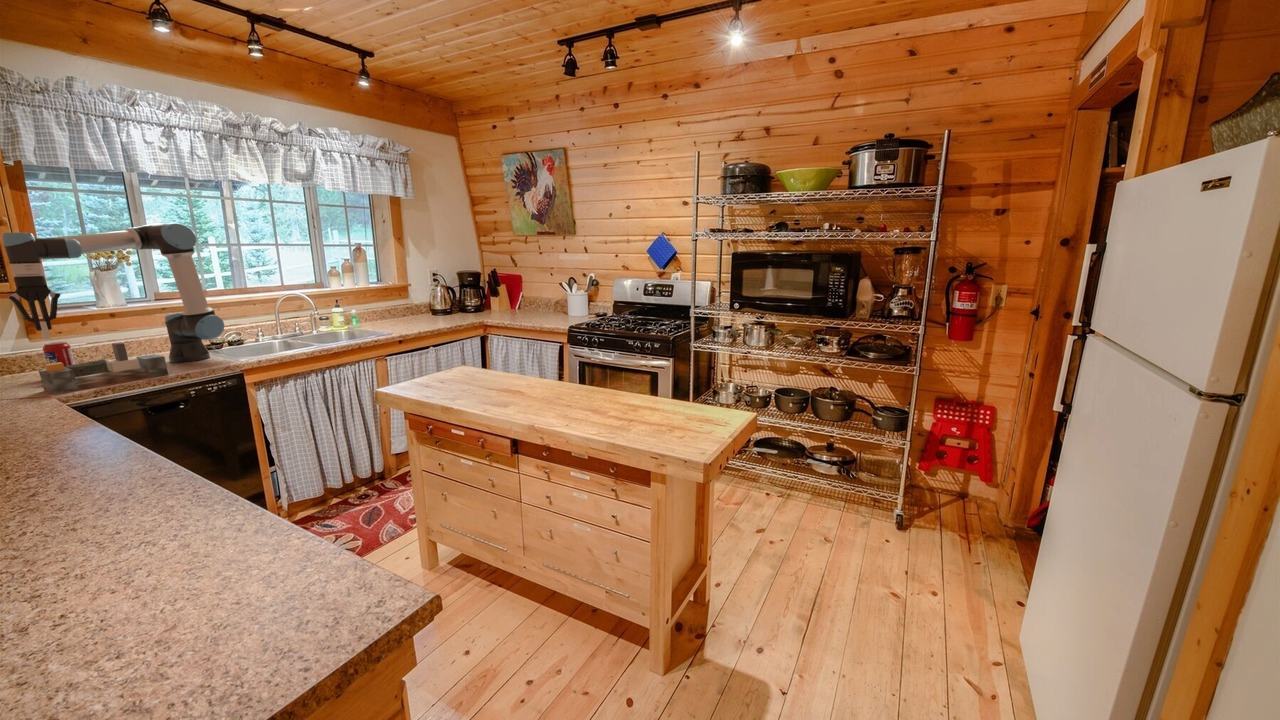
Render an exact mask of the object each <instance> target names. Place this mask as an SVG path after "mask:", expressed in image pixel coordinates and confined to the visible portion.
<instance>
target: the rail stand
mask: <svg viewBox="0 0 1280 720" xmlns="http://www.w3.org/2000/svg"><path fill="white" fill-rule="evenodd" d="M135 358H137V359H138V360H139V364H140V368H138V369H132V370H125V371H119V372H106V373H100V374H94V375H87V376H81V377H75V376H74V372H73V370H72V369H69V368H66V367H64V368H65V370H62V371H55V372H47V371H46V369H43V370H38V373H39V376H40V380H41V384H42V388H43V392H46V393H47V394H50V395H53V396H54V395H57V394H64V393H70V392H74V391H80V390H86V389H90V388H91V389H92V388H98V387H104V386H110V385H115V384H120V383H121V384H122V383H128V382H131V381H138V380H144V379H150V378H151V379H152V378H155V377H162V376H166V375H169V371H168V366H167V362H166V358H165V356H164V355H161V354H160V355H159V354H155V353H154V354H153V353H152V354H146V355H139V356H136V357H135Z"/></svg>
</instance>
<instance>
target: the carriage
mask: <svg viewBox="0 0 1280 720" xmlns="http://www.w3.org/2000/svg"><path fill="white" fill-rule="evenodd" d="M111 346H112V350H113V354H114V355H113V356H114V358H115V359H112V360H111V359H109V360H108V361H106V364H107V367H108V371H111V372H119V371H125V370H132V369H138V368H140V364H139V360H138V359H137V358H136V357H128V353H127V349H126V346H125V342H121V341H119V342H112V343H111Z"/></svg>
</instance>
